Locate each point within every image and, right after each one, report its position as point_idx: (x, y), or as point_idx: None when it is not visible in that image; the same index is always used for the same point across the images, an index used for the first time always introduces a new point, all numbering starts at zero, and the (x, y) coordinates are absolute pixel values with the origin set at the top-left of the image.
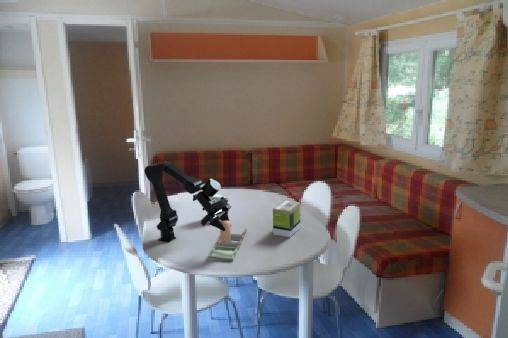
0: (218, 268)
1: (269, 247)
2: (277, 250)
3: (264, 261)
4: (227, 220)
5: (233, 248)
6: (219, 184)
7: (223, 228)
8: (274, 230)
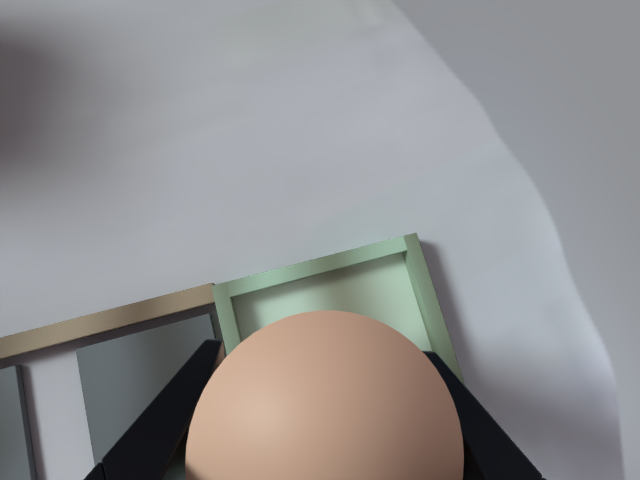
0: (541, 286)
1: (79, 76)
2: (113, 9)
3: (314, 40)
4: (190, 460)
5: (234, 318)
6: None
7: (458, 387)
8: None
